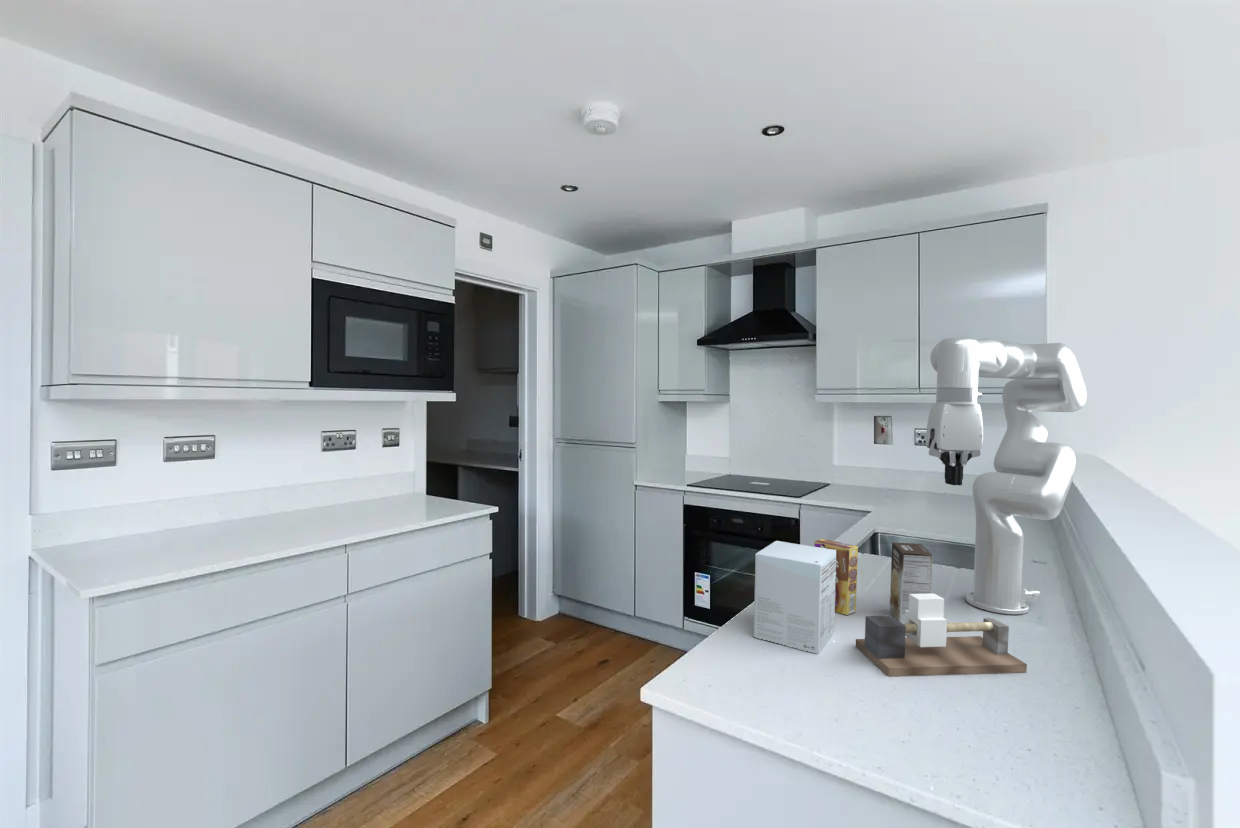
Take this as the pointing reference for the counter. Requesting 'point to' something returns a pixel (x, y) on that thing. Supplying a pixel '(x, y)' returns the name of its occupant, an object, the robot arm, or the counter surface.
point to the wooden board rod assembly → (938, 649)
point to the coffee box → (908, 576)
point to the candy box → (843, 574)
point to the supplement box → (795, 595)
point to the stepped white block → (927, 620)
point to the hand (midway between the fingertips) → (953, 484)
